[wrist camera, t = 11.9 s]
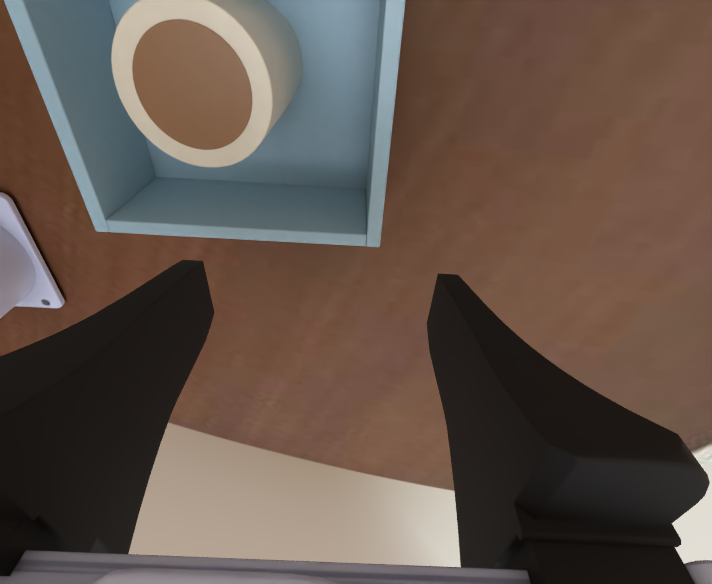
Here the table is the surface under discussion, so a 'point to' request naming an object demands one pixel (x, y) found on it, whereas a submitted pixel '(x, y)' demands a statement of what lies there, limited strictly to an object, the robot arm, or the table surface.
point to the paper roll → (205, 75)
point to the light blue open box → (261, 168)
